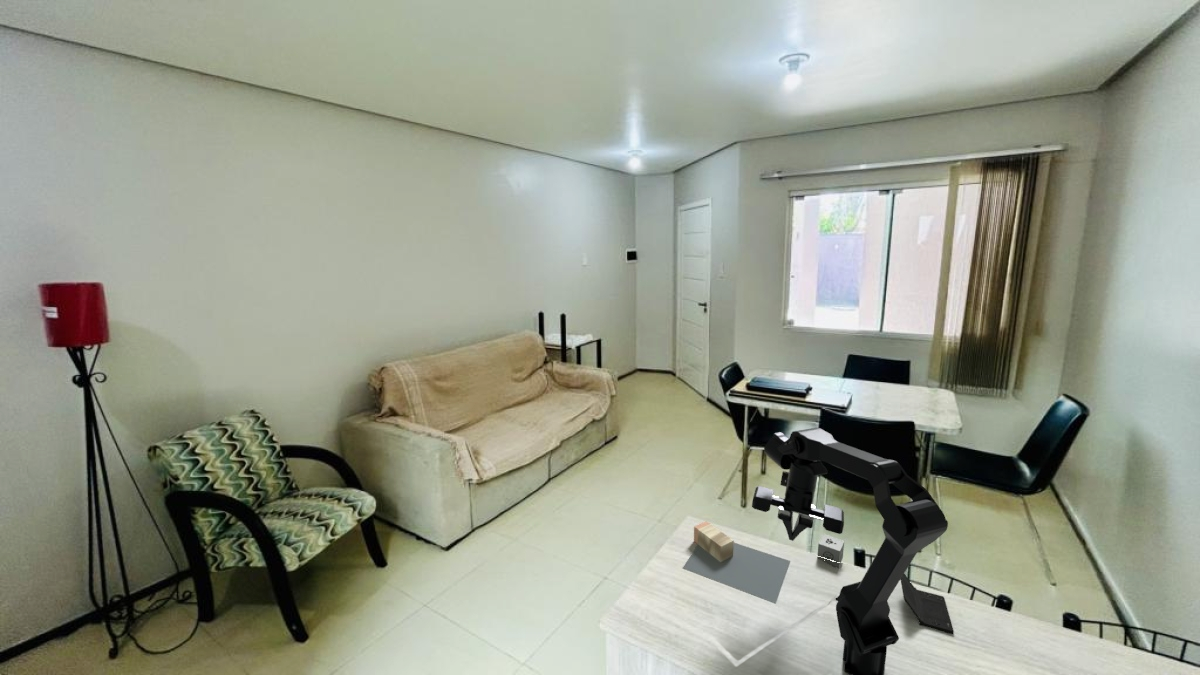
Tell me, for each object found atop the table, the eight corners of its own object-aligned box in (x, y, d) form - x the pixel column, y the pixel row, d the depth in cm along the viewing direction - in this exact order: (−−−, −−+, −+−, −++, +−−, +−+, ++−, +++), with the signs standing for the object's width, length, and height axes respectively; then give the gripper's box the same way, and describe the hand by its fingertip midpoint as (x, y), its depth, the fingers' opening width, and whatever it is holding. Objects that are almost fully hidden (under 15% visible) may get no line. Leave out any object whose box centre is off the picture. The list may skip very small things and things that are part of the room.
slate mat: (790, 563, 119) (790, 560, 118) (775, 606, 105) (775, 603, 105) (705, 535, 131) (705, 533, 130) (682, 570, 117) (682, 568, 117)
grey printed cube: (822, 550, 123) (823, 533, 122) (842, 558, 120) (844, 540, 119) (817, 560, 120) (818, 543, 119) (838, 568, 117) (839, 551, 116)
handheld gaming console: (966, 630, 96) (934, 587, 97) (932, 644, 98) (901, 601, 99) (944, 597, 107) (915, 559, 108) (914, 610, 109) (886, 572, 110)
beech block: (733, 540, 120) (706, 521, 128) (721, 546, 118) (694, 526, 126) (733, 555, 121) (706, 535, 129) (720, 562, 119) (693, 541, 127)
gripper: (848, 474, 105) (836, 530, 110) (762, 452, 113) (754, 506, 118) (849, 502, 96) (835, 562, 101) (755, 476, 104) (747, 534, 108)
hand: (791, 539), depth 107 cm, fingers closed
